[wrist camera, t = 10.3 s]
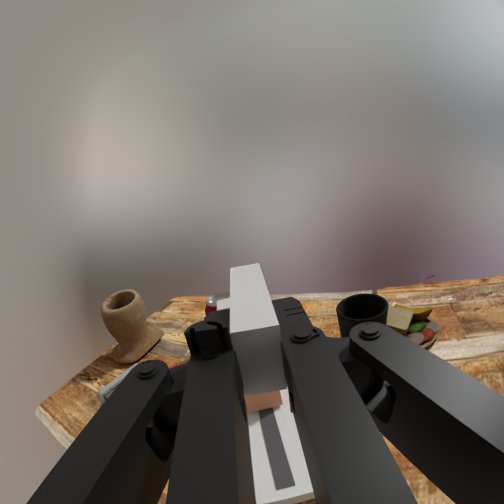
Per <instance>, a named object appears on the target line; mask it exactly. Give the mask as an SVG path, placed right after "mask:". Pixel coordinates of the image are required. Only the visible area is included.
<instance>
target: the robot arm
mask: <svg viewBox="0 0 504 504" xmlns="http://www.w3.org/2000/svg"><path fill="white" fill-rule="evenodd" d="M184 334H185V338H186V341H187V344H188V347H189V350H190V353H191V357H190V361H189V362H187V363H186V364H183V365H180V366H177V367H174V368H170V369H168V366H167V364H166V363H165V362H163V361H160V360H147V361H144V362H141V363H139V364H138V365H136V366H135V367H133V368H132V369H131V370H130V372H129V373H128V374H127V375H126V376H125V378H124V379H123V380H122V381H121V383H120V384H119V385H118V386H117V388H116V389H115V390H114V391H113V393H112V394H111V395H110V396H109V398H108V399H107V400H106V401H105V402H104V404H103V405H102V406H101V407H100V409H99V410H98V411H97V413H96V414H95V415H94V416H93V418H92V419H91V420H90V421H89V423H88V424H87V425H86V426H85V428H84V429H83V430H82V431H81V433H80V434H79V435H78V437H77V438H76V439H75V440H74V442H73V443H72V444H71V446H70V447H69V448H68V449H67V451H66V452H65V453H64V455H63V456H62V457H61V458H60V460H59V461H58V462H57V464H56V465H55V466H54V468H53V469H52V470H51V472H50V473H49V474H48V476H47V477H46V478H45V479H44V481H43V482H42V484H41V485H40V486H39V487H38V489H37V490H36V491H35V493H34V494H33V495H32V497H31V498H30V500H29V501H28V503H27V504H157V503H158V501H159V499H160V497H161V494H162V492H163V490H164V488H165V486H166V483H167V481H168V479H169V485H168V492H167V500H166V504H256V497H255V487H254V478H253V468H252V458H251V448H250V437H249V426H248V415H247V406H246V402H245V398H244V394H245V396H249V395H255V394H262V393H268V392H273V391H279V390H284V389H287V387H288V394H289V402H290V411H291V413H292V412H293V416H294V419H295V423H296V427H297V431H298V435H299V438H300V442H301V446H302V450H303V454H304V458H305V461H306V465H307V469H308V473H309V477H310V480H311V484H312V488H313V492H314V496H315V499H316V503H317V504H418V503H417V501H416V499H415V497H414V495H413V493H412V492H411V490H410V488H409V486H408V484H407V482H406V480H405V478H404V476H403V474H402V472H401V470H400V469H399V467H398V465H397V463H396V461H395V459H394V457H393V455H392V454H391V452H390V450H389V448H388V446H387V444H386V442H385V441H384V439H383V437H382V435H381V433H382V434H383V435H384V436H385V437H386V438H387V439H388V440H389V441H390V442H391V443H392V444H393V445H394V446H395V447H396V448H397V449H398V450H399V451H400V452H401V453H402V454H403V455H404V456H405V457H406V458H407V459H408V460H409V461H410V462H411V463H412V464H413V465H414V466H416V467H417V468H418V469H419V470H420V471H421V472H422V473H423V474H424V475H425V476H426V477H427V478H428V479H429V480H430V481H431V482H433V483H434V484H435V485H436V486H437V487H438V488H439V489H440V490H441V491H442V492H443V493H444V494H446V495H447V496H448V497H449V498H450V499H451V500H452V501H453V502H455V503H456V504H504V397H503V396H502V395H500V394H498V393H497V392H495V391H493V390H492V389H490V388H489V387H487V386H485V385H484V384H482V383H480V382H479V381H477V380H475V379H474V378H472V377H471V376H469V375H467V374H466V373H464V372H462V371H461V370H459V369H457V368H456V367H454V366H452V365H451V364H449V363H448V362H446V361H444V360H443V359H441V358H439V357H438V356H436V355H434V354H433V353H431V352H429V351H428V350H426V349H424V348H423V347H421V346H419V345H418V344H416V343H414V342H413V341H411V340H409V339H408V338H406V337H404V336H403V335H401V334H400V333H398V332H396V331H395V330H393V329H391V328H390V327H388V326H386V325H384V324H381V323H377V322H364V323H361V324H358V325H356V326H354V327H353V328H352V329H351V331H350V336H349V337H343V338H331V337H326V336H325V334H324V332H323V331H322V330H321V329H319V328H317V327H314V326H313V325H312V323H311V321H310V320H309V318H308V316H307V314H306V312H305V310H304V309H303V308H302V305H301V303H300V301H298V300H297V299H295V298H293V297H288V298H283V299H278V300H272V301H271V298H270V295H269V292H268V289H267V287H266V283H265V280H264V277H263V274H262V271H261V268H260V266H259V263H257V264H251V265H245V266H240V267H234V268H230V309H224V310H217V311H211V312H209V313H208V315H207V316H206V317H205V318H204V321H200V322H197V323H195V324H193V325H191V326H190V327H188V328H187V329H186V331H185V332H184ZM380 432H381V433H380ZM169 477H170V478H169Z"/></svg>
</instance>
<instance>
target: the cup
mask: <svg viewBox="0 0 504 504" xmlns="http://www.w3.org/2000/svg"><path fill="white" fill-rule="evenodd" d="M388 307H389V306H388V302H387V300H385V299H384V298H383V297H381V296H379V295H375V294H357V295H353V296H350V297H347V298H345V299H344V300H342V301H341V302H340V303H339V304H338V305H337V308H336V311H337V316H338V322H339V327H340V333H341V338H343V337H349V336H350V331H351V329H352V328H353V327H354V326H356V325H358V324H361V323H364V322H377V323H381V324H384V325H386V324H387V316H388Z"/></svg>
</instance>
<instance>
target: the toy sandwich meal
mask: <svg viewBox="0 0 504 504" xmlns="http://www.w3.org/2000/svg"><path fill="white" fill-rule="evenodd" d="M388 306H389V307H388V316H387V324H386V326H388V327H390V328H391V329H393V330H395V331H396V332H398V333H400V334H401V335H403V336H404V337H406V338H408V339H409V340H411V341H413V342H414V343H416V344H418V345H419V346H421V347H423V348H426V347H428V346H429V345H431V344H432V343H433V342H434V341H435V339H436V338H437V336H438V330H439V325H438V324H437V323H435V322H434V320H432V319H431V318H430V317H428V316H429V315H430V313H431V312H432V309H433V308H427V309H411V308H407V307H404V306H401V305H398V304H395V307H394V306H390V305H389V304H388Z"/></svg>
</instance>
